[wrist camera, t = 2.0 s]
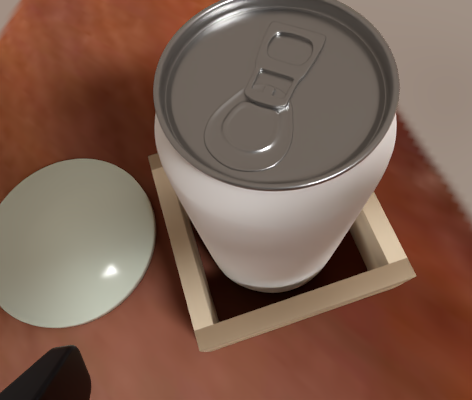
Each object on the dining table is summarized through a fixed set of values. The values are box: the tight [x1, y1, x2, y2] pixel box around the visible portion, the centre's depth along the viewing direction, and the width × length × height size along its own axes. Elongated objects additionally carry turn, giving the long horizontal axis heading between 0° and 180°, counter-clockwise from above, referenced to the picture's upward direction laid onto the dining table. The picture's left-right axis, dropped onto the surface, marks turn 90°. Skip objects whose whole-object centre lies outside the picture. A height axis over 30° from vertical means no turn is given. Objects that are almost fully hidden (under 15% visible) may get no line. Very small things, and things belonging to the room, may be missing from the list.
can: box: [153, 0, 400, 293], centre depth 14 cm, size 6×6×12 cm
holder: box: [148, 153, 416, 352], centre depth 19 cm, size 9×9×3 cm
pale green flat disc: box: [0, 159, 156, 328], centre depth 20 cm, size 9×9×1 cm
